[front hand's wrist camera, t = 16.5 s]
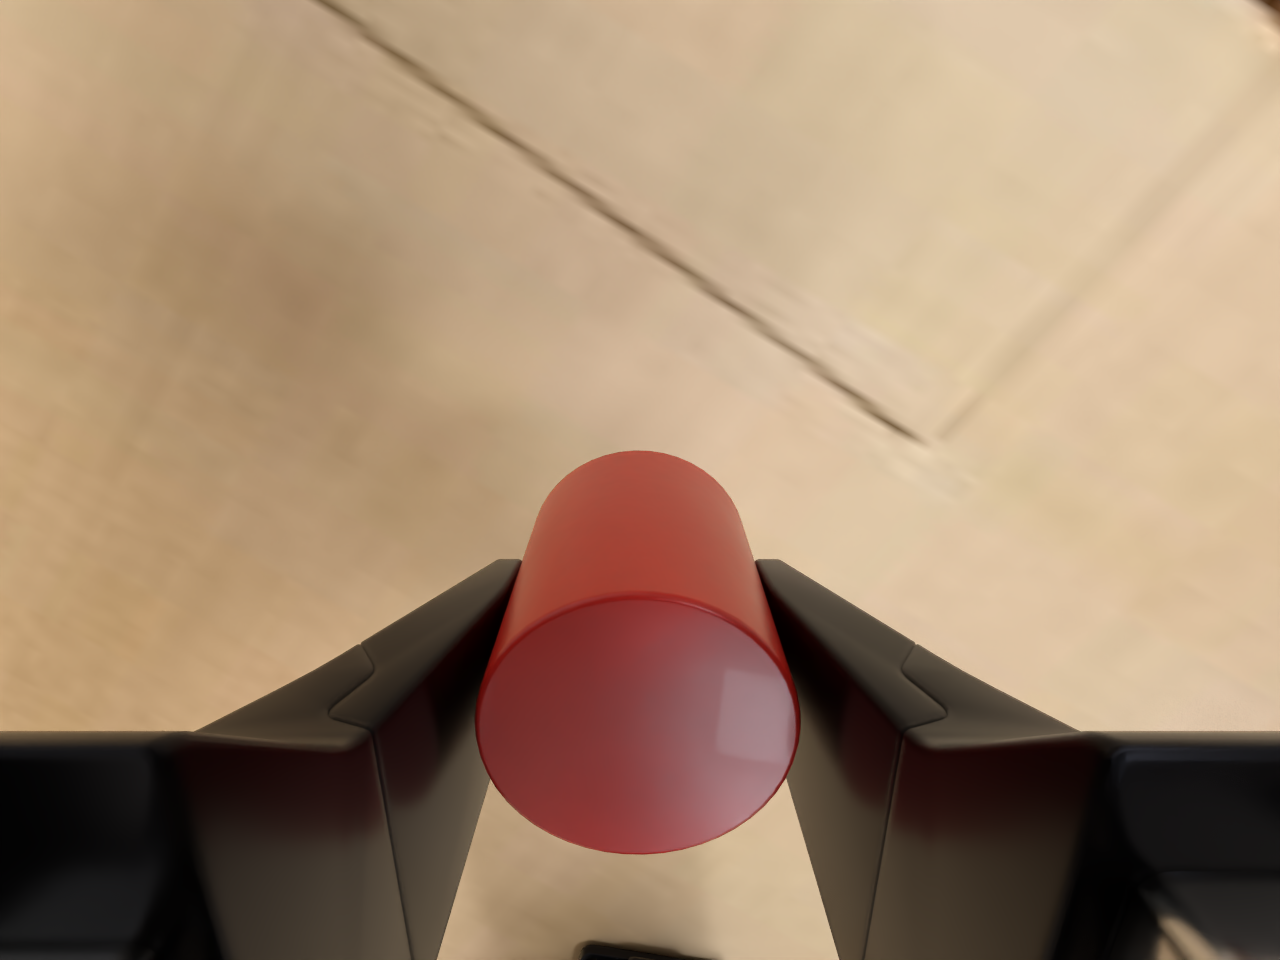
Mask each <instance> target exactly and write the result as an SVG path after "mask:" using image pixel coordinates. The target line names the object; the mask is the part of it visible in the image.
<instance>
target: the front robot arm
mask: <svg viewBox="0 0 1280 960" xmlns="http://www.w3.org/2000/svg"><path fill="white" fill-rule="evenodd" d="M521 564H522V561H521V560H519V559H499V560H496V561H495V562H493V563H491V564H490V565H488V566H486V567H485V568H483V569H481V570H480V571H478V572H477V573H475V574H473V575H472V576H470V577H468V578H467V579H465V580H463V581H462V582H460V583H458V584H457V585H455V586H453V587H452V588H450V589H449V590H447V591H445V592H444V593H442V594H440V595H439V596H437V597H435V598H434V599H432V600H430V601H429V602H427V603H425V604H424V605H422V606H420V607H419V608H417V609H416V610H414V611H412V612H411V613H409V614H407V615H406V616H404V617H402V618H401V619H399V620H397V621H396V622H394V623H392V624H391V625H389V626H387V627H386V628H384V629H383V630H381V631H379V632H378V633H376V634H374V635H373V636H371V637H369V638H368V639H366V640H364V641H363V642H362V643H361V645H359V644H358V645H356V646H354V647H353V648H351V649H349V650H348V651H346V652H345V653H343V654H341V655H340V656H338V657H336V658H334V659H333V660H331V661H329V662H328V663H326V664H324V665H322V666H321V667H319V668H317V669H315V670H314V671H312V672H310V673H308V674H306V675H304V676H302V677H300V678H298V679H297V680H295V681H293V682H291V683H289V684H287V685H285V686H283V687H281V688H279V689H277V690H275V691H274V692H272V693H270V694H268V695H266V696H264V697H262V698H260V699H258V700H256V701H254V702H252V703H250V704H248V705H246V706H244V707H242V708H240V709H238V710H236V711H234V712H232V713H230V714H228V715H226V716H224V717H222V718H220V719H218V720H216V721H214V722H213V723H211V724H209V725H207V726H205V727H203V728H201V729H199V730H196V731H194V732H190V731H0V960H437V956H438V953H439V950H440V946H441V943H442V940H443V936H444V933H445V929H446V926H447V923H448V919H449V916H450V913H451V909H452V906H453V902H454V899H455V896H456V892H457V889H458V886H459V882H460V879H461V876H462V872H463V869H464V865H465V862H466V859H467V855H468V852H469V849H470V845H471V842H472V838H473V835H474V832H475V828H476V825H477V822H478V818H479V815H480V811H481V808H482V805H483V801H484V798H485V795H486V791H487V788H488V785H489V781H490V777H489V775H488V773H487V771H486V769H485V766H484V764H483V762H482V759H481V756H480V753H479V749H478V744H477V740H476V733H475V709H476V701H477V697H478V693H479V689H480V685H481V683H482V680H483V677H484V674H485V671H486V668H487V665H488V662H489V659H490V656H491V653H492V650H493V647H494V644H495V641H496V638H497V635H498V632H499V629H500V626H501V623H502V620H503V617H504V614H505V611H506V608H507V605H508V602H509V599H510V596H511V593H512V590H513V587H514V584H515V581H516V578H517V575H518V572H519V569H520V566H521ZM755 565H756V568H757V571H758V574H759V577H760V580H761V583H762V586H763V589H764V592H765V595H766V598H767V601H768V605H769V608H770V611H771V614H772V617H773V620H774V623H775V626H776V629H777V632H778V635H779V638H780V641H781V644H782V647H783V651H784V654H785V657H786V660H787V663H788V666H789V669H790V672H791V675H792V678H793V681H794V684H795V687H796V690H797V694H798V700H799V705H800V711H801V730H800V737H799V744H798V748H797V751H796V754H795V758H794V761H793V764H792V766H791V768H790V770H789V772H788V774H787V776H786V779H787V782H788V786H789V789H790V792H791V796H792V799H793V803H794V806H795V809H796V813H797V816H798V820H799V823H800V827H801V830H802V833H803V837H804V840H805V844H806V847H807V850H808V854H809V857H810V861H811V864H812V867H813V871H814V874H815V878H816V881H817V885H818V888H819V891H820V895H821V898H822V902H823V905H824V908H825V912H826V915H827V919H828V922H829V925H830V929H831V932H832V936H833V939H834V943H835V946H836V949H837V953H838V956H839V960H1280V731H1082V732H1081V731H1079V730H1076V729H1074V728H1072V727H1070V726H1068V725H1066V724H1064V723H1063V722H1061V721H1059V720H1057V719H1055V718H1053V717H1051V716H1049V715H1047V714H1045V713H1043V712H1041V711H1039V710H1037V709H1035V708H1033V707H1031V706H1029V705H1027V704H1025V703H1023V702H1021V701H1020V700H1018V699H1016V698H1014V697H1012V696H1010V695H1008V694H1006V693H1004V692H1002V691H1000V690H998V689H996V688H994V687H992V686H990V685H988V684H987V683H985V682H983V681H981V680H979V679H977V678H975V677H973V676H971V675H970V674H968V673H966V672H964V671H962V670H960V669H959V668H957V667H955V666H953V665H952V664H950V663H948V662H947V661H945V660H943V659H941V658H940V657H938V656H936V655H935V654H933V653H931V652H930V651H928V650H927V649H925V648H923V647H922V646H920V645H918V644H917V645H915V642H913V641H912V640H910V639H908V638H907V637H905V636H904V635H902V634H900V633H899V632H897V631H895V630H894V629H892V628H890V627H889V626H887V625H886V624H884V623H882V622H881V621H879V620H877V619H876V618H874V617H872V616H871V615H869V614H868V613H866V612H864V611H863V610H861V609H859V608H858V607H856V606H855V605H853V604H851V603H850V602H848V601H846V600H845V599H843V598H841V597H840V596H838V595H837V594H835V593H833V592H832V591H830V590H828V589H827V588H825V587H823V586H822V585H820V584H819V583H817V582H815V581H814V580H812V579H810V578H809V577H807V576H805V575H804V574H802V573H801V572H799V571H797V570H796V569H794V568H792V567H791V566H789V565H787V564H786V563H784V562H783V561H781V560H778V559H758V560H756V561H755ZM579 960H685V959H679V958H673V957H667V956H660V955H654V954H648V953H642V952H636V951H630V950H623V949H617V948H611V947H605V946H599V945H588V946H585V947H584V948H583V949H582V950H581V953H580V956H579Z"/></svg>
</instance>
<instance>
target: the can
mask: <svg viewBox="0 0 1280 960" xmlns="http://www.w3.org/2000/svg"><path fill="white" fill-rule="evenodd" d="M800 730H801V711H800V705H799V700H798V694H797V690H796V687H795V684H794V681H793V678H792V675H791V672H790V669H789V666H788V663H787V660H786V657H785V654H784V651H783V647H782V644H781V641H780V638H779V635H778V632H777V629H776V626H775V623H774V620H773V617H772V614H771V611H770V608H769V605H768V601H767V598H766V595H765V592H764V589H763V586H762V583H761V580H760V577H759V574H758V571H757V568H756V565H755V562H754V558H753V555H752V552H751V549H750V546H749V543H748V540H747V537H746V534H745V531H744V528H743V525H742V522H741V519H740V516H739V513H738V511H737V509H736V507H735V505H734V503H733V501H732V500H731V498H730V497H729V495H728V494H727V493H726V491H725V490H724V488H723V487H722V486H721V485H720V484H719V483H718V482H717V481H716V480H715V479H714V478H713V477H711V476H710V475H709V474H707V473H706V472H705V471H704V470H702V469H700V468H699V467H697V466H695V465H694V464H692V463H690V462H688V461H685V460H683V459H681V458H678V457H675V456H672V455H668V454H664V453H659V452H652V451H625V452H618V453H613V454H609V455H605V456H602V457H599V458H597V459H594V460H591V461H589V462H587V463H585V464H584V465H582V466H580V467H578V468H577V469H575V470H574V471H572V472H571V473H570V474H568V475H567V476H566V477H565V478H564V479H563V480H561V481H560V482H559V483H558V484H557V485H556V487H555V488H554V489H553V490H552V491H551V493H550V494H549V495H548V497H547V498H546V500H545V502H544V503H543V505H542V507H541V509H540V512H539V514H538V516H537V519H536V522H535V525H534V528H533V531H532V534H531V537H530V540H529V543H528V546H527V549H526V552H525V555H524V558H523V561H522V564H521V566H520V569H519V572H518V575H517V578H516V581H515V584H514V587H513V590H512V593H511V596H510V599H509V602H508V605H507V608H506V611H505V614H504V617H503V620H502V623H501V626H500V629H499V632H498V635H497V638H496V641H495V644H494V647H493V650H492V653H491V656H490V659H489V662H488V665H487V668H486V671H485V674H484V677H483V680H482V683H481V685H480V689H479V693H478V697H477V701H476V709H475V733H476V740H477V744H478V749H479V753H480V756H481V759H482V762H483V764H484V766H485V769H486V771H487V773H488V775H489V777H490V778H491V780H492V782H493V783H494V785H495V787H496V788H497V790H498V791H499V792H500V793H501V795H502V796H503V797H504V798H505V800H506V801H507V802H508V803H509V804H510V805H511V806H512V807H513V808H514V809H515V810H517V811H518V812H519V813H520V814H521V815H522V816H524V817H525V818H526V819H528V820H529V821H530V822H532V823H533V824H534V825H536V826H538V827H539V828H541V829H543V830H544V831H546V832H548V833H550V834H552V835H554V836H556V837H558V838H561V839H563V840H565V841H567V842H570V843H573V844H576V845H579V846H582V847H586V848H590V849H594V850H599V851H604V852H611V853H620V854H656V853H666V852H671V851H677V850H683V849H686V848H690V847H693V846H697V845H700V844H703V843H706V842H708V841H711V840H713V839H716V838H718V837H720V836H722V835H724V834H726V833H728V832H730V831H732V830H733V829H735V828H737V827H738V826H740V825H741V824H743V823H744V822H746V821H747V820H749V819H750V818H751V817H752V816H754V815H755V814H756V813H757V812H758V811H759V810H760V809H762V808H763V807H764V806H765V805H766V804H767V802H768V801H769V800H770V799H771V798H772V797H773V796H774V795H775V793H776V792H777V791H778V789H779V788H780V786H781V785H782V783H783V782H784V780H785V778H786V776H787V774H788V772H789V770H790V768H791V766H792V764H793V761H794V758H795V754H796V751H797V748H798V744H799V737H800Z"/></svg>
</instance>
